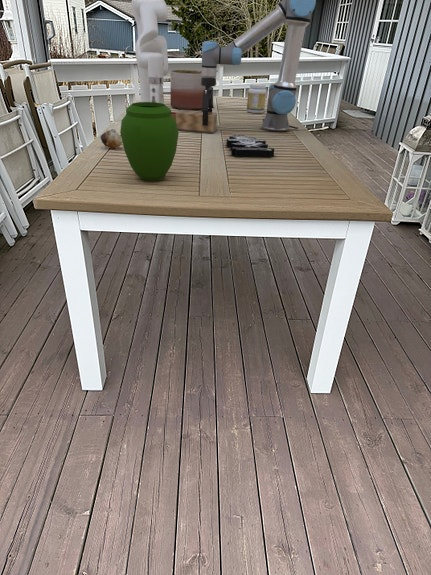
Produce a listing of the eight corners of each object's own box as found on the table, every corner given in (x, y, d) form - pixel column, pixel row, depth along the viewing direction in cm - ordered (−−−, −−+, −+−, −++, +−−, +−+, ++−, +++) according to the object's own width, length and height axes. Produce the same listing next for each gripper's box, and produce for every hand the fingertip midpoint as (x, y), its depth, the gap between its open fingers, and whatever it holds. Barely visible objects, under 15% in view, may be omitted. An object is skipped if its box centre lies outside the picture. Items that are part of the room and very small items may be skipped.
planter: (201, 104, 296) (202, 70, 284) (212, 110, 276) (213, 73, 264) (166, 104, 289) (166, 69, 277) (175, 110, 268) (175, 73, 257)
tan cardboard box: (176, 130, 217) (175, 112, 212) (181, 126, 226) (181, 109, 222) (212, 133, 215) (213, 115, 210) (216, 129, 224) (217, 112, 219)
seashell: (124, 147, 182) (123, 128, 178) (122, 150, 177) (120, 130, 173) (103, 146, 182) (101, 127, 178) (100, 149, 177) (98, 129, 173)
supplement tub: (247, 109, 285) (249, 83, 276) (264, 111, 283) (267, 84, 274) (245, 112, 274) (248, 84, 265) (264, 114, 273) (266, 86, 264)
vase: (131, 189, 135) (125, 110, 122) (118, 172, 150) (112, 100, 137) (186, 184, 142) (187, 109, 129) (169, 168, 157) (167, 99, 144)
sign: (232, 149, 174) (222, 134, 199) (232, 157, 176) (222, 140, 201) (276, 150, 177) (260, 135, 202) (275, 157, 179) (260, 141, 204)
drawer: (149, 126, 219) (148, 112, 215) (154, 123, 227) (154, 109, 223) (193, 130, 216) (193, 116, 212) (197, 126, 224) (197, 113, 220)
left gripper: (158, 82, 204) (160, 121, 214) (166, 80, 217) (167, 117, 227) (144, 82, 205) (146, 120, 215) (153, 79, 218) (154, 116, 228)
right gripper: (211, 79, 196) (210, 128, 207) (220, 75, 215) (218, 120, 227) (196, 78, 197) (195, 126, 208) (206, 74, 216) (204, 118, 228)
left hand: (157, 118), depth 221 cm, fingers closed
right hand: (207, 123), depth 218 cm, fingers closed on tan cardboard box, 11 cm apart
